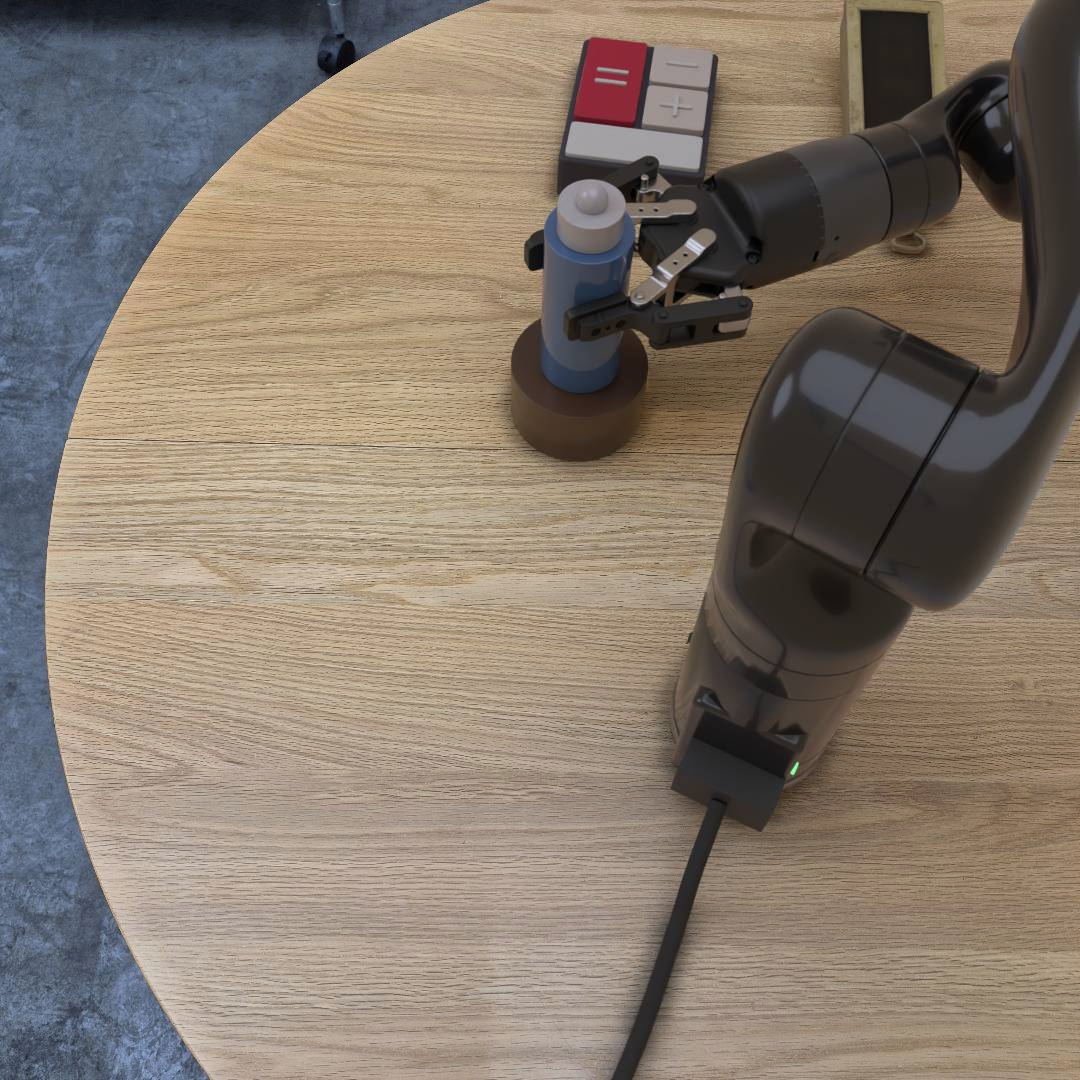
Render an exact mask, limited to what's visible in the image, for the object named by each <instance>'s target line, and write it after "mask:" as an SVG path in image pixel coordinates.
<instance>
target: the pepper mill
mask: <svg viewBox="0 0 1080 1080" xmlns="http://www.w3.org/2000/svg"><path fill="white" fill-rule="evenodd" d="M543 225H544V226H543V229H544V246H543V269H542V283H541V285H542V286H541V313H540V314H541V317H540V318H541V347H540V365H541V369H542V371H543V373H544V375H545V377H546V378H547V379H548V380H549V381H550V382H551V383H552V384H553V385H554V386H556V387H558V388H560V389H562V390H564V391H567V392H571V393H582V394H583V393H591V392H595V391H598V390H600V389H602V388H604V387H606V386H607V385H608V384H609V383H611V382H612V380H613V379H614V378H615V377H616V375H617V373H618V370H619V365H620V357H621V349H622V341H623V333H624V331H621V332H618V333H615V334H612V335H609V336H605V337H603V338H598V339H597V340H594V341H591V342H580V340H579V339H578V340H575V341H569V340H568V338H567V337H566V335H565V333H564V331H563V319H564V313H565V312H566V311H567V310H568V309H570V308H572V307H575V306H578V305H581V304H584V303H587V302H590V301H593V300H596V299H599V298H603V297H606V296H609V295H612V294H615V293H618V292H621V291H623V293H624V295H625V296H626V297H627V296H629V292H630V283H631V273H632V266H633V259H634V257H633V251H634V243H635V237H636V234H637V233H636V225H635V226H634V223H633V220H632V219H631V217H630V216H629V214H628V213H627V212H626V201H625V198H624V196H623V195H622V193H621V192H620V191H619V190H618V189H617V188H616V187H615V186H613V185H611V184H609V183H607V182H604V181H600V180H593V179H588V180H581V181H577V182H574V183H572V184H570V185H569V186H567V187H566V188H565V189H564V190H563V191H562V192H561V194H560V195H558V198H557V205H556V207H555V208H553V209H552V210H551V211H550V212H549V214H548V216H547V218H546V220H545V222H544V224H543Z"/></svg>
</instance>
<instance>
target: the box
mask: <svg viewBox="0 0 1080 1080" xmlns="http://www.w3.org/2000/svg"><path fill="white" fill-rule="evenodd" d="M945 41H946V40H945V18H944V3H943V2H942V1H939V0H844V2H843V15H842V19H841V21H840V26H839V64H840V65H839V67H840V91H841V92H840V99H841V134H842V135H841V136H845V135H849V134H852V133H855V132H858V131H861V130H865V129H868V128H871V127H874V126H878V125H881V124H884V123H888V122H891V121H895V120H897V119H899V118H901V117H902V116H904V115H906V114H908V113H909V112H911V111H913V110H914V109H916V108H917V107H919V106H921V105H922V104H924V103H925V102H927V101H929V100H930V99H932V98H934V97H935V96H937V95H938V94H940V93H941V92H943V91H944V90H946V89H947V88H948V74H947V73H948V72H947V55H946V42H945ZM920 231H921V230H918V231H916V232H913V233H909V234H906V235H905V236H911V237H912V238H913V239H914V240H915V241H916V242H918V243H919V245H918V246H910V245H909V246H908V245H903V244H900V243H898V242H897V240H898V239H900V238H901V237H902V236H900V237H897V238H894V239H891V240H889V246H890V248H891V250H892V251H893V252H899V253H901V254H910V255H917V254H919V253H923V252H924V250H925V248H926V246H927V243H928V242H927V240H926V239H925V238H924V236H923V235H921V234H920V233H919V232H920Z"/></svg>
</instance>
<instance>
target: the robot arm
mask: <svg viewBox="0 0 1080 1080" xmlns="http://www.w3.org/2000/svg"><path fill="white" fill-rule="evenodd" d="M658 168H659V160H658V159H657V158H656V157H654V156H644V157H642V158H640V159H638V160H636V161H634V162H632V163H630V164H628V165H626V166H624V167H622V168H621V169H619V170H617V171H615V172H613V173H611V174H609V175H607V176H605V177H603V178H601V179H599V180H600V181H604V182H607V183H609V184H611V185H613V186H615V187H616V188H617V189H618V190H619V191H620V192H621V193H622V195H623V196H624V198H625V201H626V212H627V213H628V214H629V216H630V217H631V219H632V220H633V223H634V226H635V227H636V226H637V225H639V229H638V236H635V243H634V251H633V258H640V259H641V260H642V261H643V262H644V263H645V264H646V265H647V266H648V267H649V268H650V269H651V271H652V273H651V274H650V276H649V277H648V278H647V279H645V280H644V281H643V282H642V283H640V284H639V285H638V286H636V287H635V288H634V289H633V290H631V291H630V293H629V295H628V296H627V297H626V296H625V295H624V293H623V291H621V292H618V293H615V294H612V295H609V296H606V297H603V298H599V299H596V300H593V301H590V302H587V303H584V304H581V305H578V306H575V307H572V308H570V309H568V310H567V311H566V312H565V313H564V319H563V331H564V333H565V335H566V337H567V338H568V340H569V341H575V340H578V339H579V340H580V342H591V341H594V340H597V339H598V338H603V337H605V336H609V335H612V334H615V333H618V332H621V331H624V330H627V329H630V330H632V331H634V332H640V333H641V334H642V335H643V336H645V337H646V338H647V339H648V345H649V346H650V348H651V349H652V350H655V351H664V350H672V349H677V348H685V347H690V346H691V347H692V346H697V345H706V344H712V343H719V342H724V341H725V342H726V341H732V340H739V339H742V338H744V337H745V336H746V335H747V332H748V328H749V325H750V322H751V318H752V314H753V309H754V301H753V300H752V298H751V297H748V296H747V295H744V294H743V291H744V290H745V291H754V290H757V289H761V288H763V287H766V286H769V285H771V284H776V283H778V282H781V281H784V280H787V279H790V278H794V277H796V276H799V275H803V274H806V273H808V272H810V271H814V270H817V269H820V268H823V267H825V266H829V265H832V264H835V263H838V262H841V261H844V260H846V259H848V258H851V257H852V256H855V255H857V254H858V253H860V252H862V251H864V250H866V249H868V248H871V247H873V246H876V245H879V244H882V243H886V242H888V241H891V239H894V238H897V237H900V236H901V237H904V236H907V235H906V234H909V233H913V232H916V231H918V230H920V231H921V230H924V229H927V228H930V227H932V226H934V225H936V224H938V223H940V222H942V221H943V220H944V219H946V218H947V217H948V216H949V215H950V214H952V212H953V211H954V209H955V207H956V206H957V204H958V203H959V200H960V197H961V193H962V189H963V172H962V171H963V170H964V172H965V173H966V174H967V175H968V177H969V178H970V180H971V182H972V183H973V185H974V186H975V187H976V188H977V190H978V192H979V193H980V195H981V196H982V197H983V198H984V200H985V202H986V203H987V204H988V205H989V207H990V208H991V209H992V210H993V211H994V212H995V213H996V214H997V215H998V216H999V217H1001V218H1002V219H1004V220H1006V221H1008V222H1011V223H1015V224H1021V225H1020V226H1021V248H1022V250H1021V252H1022V253H1021V282H1020V283H1021V284H1020V296H1019V305H1018V306H1019V307H1018V313H1017V319H1016V324H1015V330H1014V334H1013V339H1012V343H1011V347H1010V352H1009V355H1008V360H1007V363H1006V367H1005V368H1004V372H1000V373H999V372H995V371H992V370H990V369H987V368H986V367H984V368H982V369H981V365H980V364H978V363H976V362H974V361H971V360H970V359H968V358H965V357H964V356H962V355H959V354H958V353H955V352H953V351H950V350H948V349H946V348H944V347H942V346H940V345H938V344H936V343H934V342H932V341H930V340H928V339H925V338H924V337H921V336H919V335H917V334H915V333H913V332H909V331H907V330H905V329H904V328H902V327H901V326H898V325H896V324H895V323H892V322H890V321H887V320H885V319H883V318H881V317H879V316H877V315H875V314H872V313H870V312H868V311H865V310H863V309H860V308H857V307H853V306H843V305H842V306H837V307H832V308H829V309H826V310H824V311H822V312H820V313H817V314H816V315H814V316H813V317H812V318H810V319H809V320H808V321H807V322H805V323H804V324H802V326H801V327H800V328H799V329H797V330H796V331H795V333H794V334H792V335H791V337H790V338H789V339H788V340H787V342H786V343H785V344H784V346H783V347H782V348H781V349H780V350H779V352H778V354H777V356H776V357H775V358H774V359H773V361H772V362H771V365H770V366H769V368H768V370H767V371H766V372H765V373H766V374H765V375H764V377H763V379H762V381H761V382H760V384H759V387H758V389H757V392H756V394H755V396H754V399H753V401H752V404H751V406H750V409H749V411H748V413H747V417H746V420H745V421H744V425H743V428H742V431H741V434H740V438H739V442H738V446H737V449H736V453H735V458H734V462H733V466H732V471H731V475H730V481H729V486H728V492H727V496H726V504H725V507H724V508H725V509H724V515H723V520H722V523H721V528H720V531H719V536H718V540H717V542H716V547H715V553H714V557H713V558H714V559H713V566H712V569H711V573H710V576H709V579H708V583H707V586H706V589H705V591H704V595H703V598H702V601H701V603H700V604H701V605H700V608H699V611H698V613H697V614H698V615H697V618H696V622H695V624H694V627H693V630H692V631H691V632H690V633H689V634H688V637H687V639H686V642H685V645H688V646H687V650H686V654H685V657H684V659H683V663H682V666H681V670H680V673H679V676H678V678H677V680H676V682H675V685H674V687H673V691H672V694H671V697H670V703H669V724H670V730H671V734H672V737H673V741H674V743H675V747H674V751H673V754H672V756H671V763H672V764H673V765H674V766H676V767H677V769H676V771H675V774H674V777H673V778H672V779H673V780H672V782H671V785H670V788H669V790H670V791H673V792H675V793H677V794H679V795H682V796H684V797H686V798H688V799H689V800H691V801H694V802H696V803H699V804H700V805H702V806H704V807H706V810H705V814H704V817H703V819H702V822H701V825H700V827H699V830H698V833H697V835H696V838H695V841H694V843H693V846H692V849H691V852H690V854H689V857H688V860H687V863H686V866H685V869H684V873H683V875H682V878H681V880H680V881H681V882H680V884H679V887H678V891H677V894H676V898H675V901H674V905H673V908H672V911H671V913H670V917H669V920H668V924H667V926H666V930H665V932H664V936H663V939H662V941H661V945H660V947H659V951H658V954H657V957H656V960H655V963H654V966H653V968H652V972H651V975H650V978H649V981H648V983H647V987H646V989H645V992H644V995H643V999H642V1001H641V1004H640V1007H639V1010H638V1012H637V1015H636V1018H635V1020H634V1023H633V1026H632V1028H631V1031H630V1034H629V1036H628V1038H627V1041H626V1043H625V1046H624V1048H623V1051H622V1053H621V1056H620V1058H619V1061H618V1063H617V1065H616V1068H615V1070H614V1073H613V1075H612V1077H611V1079H610V1080H633V1079H634V1077H635V1074H636V1072H637V1069H638V1067H639V1065H640V1062H641V1059H642V1057H643V1054H644V1051H645V1049H646V1047H647V1045H648V1041H649V1039H650V1036H651V1033H652V1030H653V1028H654V1025H655V1022H656V1020H657V1017H658V1014H659V1012H660V1008H661V1005H662V1002H663V1000H664V997H665V993H666V990H667V988H668V984H669V981H670V978H671V975H672V972H673V970H674V969H673V968H674V966H675V962H676V960H677V956H678V953H679V950H680V947H681V944H682V942H683V941H682V940H683V939H684V935H685V931H686V928H687V925H688V922H689V919H690V916H691V913H692V910H693V906H694V903H695V901H696V900H695V899H696V897H697V894H698V893H697V892H698V890H699V887H700V883H701V881H702V877H703V875H704V871H705V869H706V866H707V863H708V860H709V859H710V858H709V857H710V855H711V852H712V849H713V847H714V843H715V840H716V838H717V835H718V833H719V830H720V826H721V824H722V822H723V819H724V816H726V817H727V818H730V819H732V820H734V821H736V822H738V823H741V825H744V826H746V827H748V828H750V829H752V830H754V831H756V832H759V833H762V832H763V830H764V829H765V827H766V825H767V824H768V822H769V820H770V819H771V817H772V816H773V813H774V812H775V809H776V806H777V804H778V801H779V798H780V797H781V795H782V792H784V791H786V790H788V789H790V788H792V787H794V786H796V785H797V784H799V783H800V782H802V781H803V780H804V779H805V778H807V777H808V776H809V774H810V773H812V771H813V770H815V768H816V766H817V765H818V764H819V763H820V760H821V759H822V757H823V755H824V753H825V751H826V749H827V747H828V745H829V743H830V742H831V740H832V739H833V737H834V735H835V734H836V732H837V731H838V728H839V727H840V726H841V724H842V723H843V721H844V720H845V719H846V717H847V715H848V714H849V712H850V711H851V709H852V708H853V707H854V704H855V703H856V702H857V700H858V699H859V697H860V695H861V694H862V692H863V691H864V689H865V688H866V686H867V685H868V683H869V682H870V680H871V679H872V678H873V676H874V674H875V672H876V671H877V669H878V668H879V667H880V666H881V664H882V662H883V661H884V660H885V658H886V656H887V655H888V653H889V652H890V650H891V649H892V647H893V646H894V644H895V643H896V641H897V640H898V638H899V637H900V635H901V634H902V632H903V630H904V629H905V628H906V626H907V624H908V623H909V621H910V619H911V616H912V615H913V612H914V611H915V609H916V608H918V609H921V610H923V611H926V612H931V613H941V612H945V611H948V610H951V609H952V608H954V607H957V606H958V605H959V604H962V603H963V602H964V601H965V600H967V599H968V598H969V597H970V596H971V595H973V594H974V592H975V591H976V590H977V589H978V588H979V587H981V585H982V583H983V582H984V581H985V580H986V579H987V578H988V577H989V575H990V573H992V571H993V570H994V568H995V567H996V566H997V564H998V562H999V561H1000V559H1001V558H1002V557H1003V555H1004V554H1005V552H1006V550H1007V549H1008V547H1009V545H1010V544H1011V542H1012V541H1013V539H1014V538H1015V535H1017V533H1018V531H1019V528H1020V527H1021V526H1022V524H1023V522H1024V520H1025V518H1026V517H1027V514H1028V513H1029V510H1030V509H1031V507H1032V505H1033V504H1034V501H1035V500H1036V497H1037V495H1038V493H1039V491H1040V489H1041V487H1042V485H1043V484H1044V482H1045V479H1046V478H1047V476H1048V474H1049V472H1050V469H1051V468H1052V466H1053V464H1054V462H1055V459H1056V457H1057V455H1058V453H1059V451H1060V450H1061V447H1062V445H1063V443H1064V441H1065V439H1066V437H1067V435H1068V433H1069V431H1070V428H1071V426H1072V425H1073V423H1074V420H1075V419H1076V417H1077V415H1078V412H1079V411H1080V0H1034V2H1033V3H1032V5H1031V7H1030V9H1029V11H1028V12H1027V14H1026V15H1025V18H1024V19H1023V21H1022V23H1021V24H1020V27H1019V29H1018V31H1017V34H1016V37H1015V40H1014V42H1013V46H1012V50H1011V55H1010V58H1003V59H997V60H992V61H989V62H986V63H983V64H981V65H979V66H978V67H976V68H975V69H973V70H971V71H970V72H968V73H967V74H966V75H964V76H963V77H962V78H960V79H959V80H957V81H956V82H954V83H953V84H952V85H951V86H949V87H947V89H946V90H944V91H943V92H941V93H940V94H938V95H937V96H935V97H934V98H932V99H930V100H929V101H927V102H925V103H924V104H922V105H921V106H919V107H917V108H916V109H914V110H913V111H911V112H909V113H908V114H906V115H904V116H902V117H901V118H899V119H897V120H895V121H891V122H888V123H884V124H881V125H878V126H874V127H871V128H868V129H865V130H861V131H858V132H855V133H852V134H849V135H845V136H842V135H841V136H836V137H829V138H822V139H821V138H820V139H817V140H812V141H808V142H804V143H802V144H797V145H795V146H791V147H788V148H785V149H782V150H779V151H776V152H773V153H769V154H766V155H761V156H760V157H756V158H752V159H750V160H746V161H743V162H739V163H736V164H732V165H730V166H726V167H723V168H720V169H719V170H717V171H715V172H714V173H713V174H712V175H711V176H709V177H708V178H707V179H704V182H702V183H701V184H698V185H691V186H688V185H674V186H672V185H670V184H669V183H668V182H667V181H666V180H665V179H664V178H663V177H662V176H661V175H660V174H659V173H658ZM962 169H963V170H962ZM652 201H653V202H656V203H648V202H652ZM901 237H900V238H901ZM543 246H544V228H542V229H539V230H536V231H535V232H533V233H532V234H530V235H529V238H528V239H526V240H525V242H524V245H523V261H524V263H525V265H526V267H527V269H528V270H529V271H530V272H536V271H540V270H543ZM693 295H694V296H698V297H704V298H708V300H701V301H695V302H694V301H693V302H689V303H684V302H685V301H686V300H688V299H689V298H690V297H691V296H693ZM709 298H710V299H709ZM980 370H981V371H980Z"/></svg>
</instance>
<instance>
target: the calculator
mask: <svg viewBox="0 0 1080 1080" xmlns="http://www.w3.org/2000/svg"><path fill="white" fill-rule="evenodd" d="M718 66H719V56H718V55H717V54H716V53H715V54H714V52H713V51H712V50H705V49H697V48H689V47H682V46H675V45H664V44H656V45H655V46H651V45H650V46H649V45H648V43H645V42H639V41H633V40H622V39H614V38H608V37H607V38H605V37H598V36H591V37H590V38H589V39H585V40H584V41H583V44H582V48H581V52H580V56H579V61H578V66H577V70H576V75H575V80H574V84H573V89H572V94H571V98H570V102H569V107H568V111H567V116H566V121H565V126H564V130H563V135H562V139H561V144H560V148H559V153H558V159H557V160H558V162H557V180H556V194H557V195H558V196H559V195H560V194H561V192H562V191H563V190H564V189H565V188H566V187H567V186H569V185H570V184H572V183H574V182H577V181H581V180H588V179H593V180H599V179H601V178H603V177H605V176H607V175H609V174H611V173H613V172H615V171H617V170H619V169H621V168H622V167H624V166H626V165H628V164H630V163H632V162H634V161H636V160H638V159H640V158H642V157H644V156H654V157H656V158H657V159H658V160H659V168H658V173H659V174H660V175H661V176H662V177H663V178H664V179H665V180H666V181H667V182H668V183H669V184H670V185H672V186H674V185H688V186H691V185H698V184H701V183H702V182H704V181H705V175H706V168H707V161H708V160H707V157H708V151H709V143H710V142H709V141H710V135H711V124H712V118H713V117H712V115H713V109H714V102H715V101H714V100H715V92H716V85H717V83H716V82H717V76H718V75H717V74H718ZM648 203H656V202H653V201H652V202H648Z"/></svg>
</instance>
